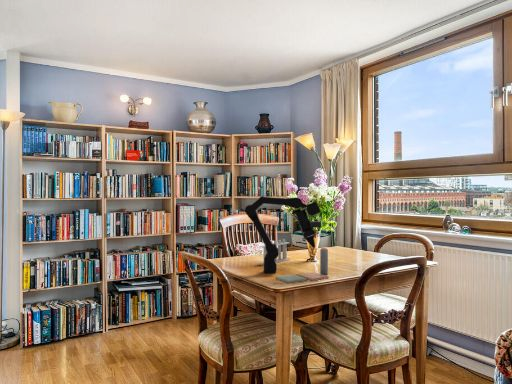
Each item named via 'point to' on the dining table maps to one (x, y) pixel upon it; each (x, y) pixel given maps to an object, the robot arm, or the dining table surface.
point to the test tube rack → (279, 251)
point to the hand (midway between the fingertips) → (313, 246)
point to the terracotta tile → (313, 276)
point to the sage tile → (291, 278)
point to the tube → (324, 261)
